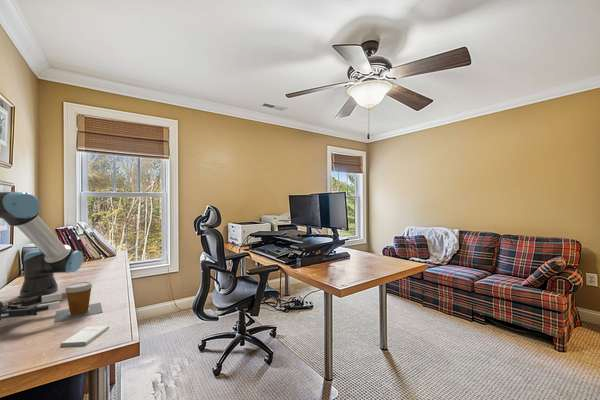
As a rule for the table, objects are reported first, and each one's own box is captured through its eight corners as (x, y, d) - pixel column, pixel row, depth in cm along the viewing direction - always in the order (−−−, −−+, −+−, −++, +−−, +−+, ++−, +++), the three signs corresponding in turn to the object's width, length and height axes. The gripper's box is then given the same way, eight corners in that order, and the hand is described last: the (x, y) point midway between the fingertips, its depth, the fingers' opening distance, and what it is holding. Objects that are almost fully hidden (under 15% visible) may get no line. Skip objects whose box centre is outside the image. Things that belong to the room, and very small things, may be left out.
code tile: (56, 311, 122) (56, 311, 122) (100, 302, 132) (100, 302, 132) (53, 322, 110) (53, 322, 110) (102, 312, 120) (102, 311, 120)
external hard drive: (60, 347, 92) (86, 330, 104) (86, 346, 92) (109, 329, 105) (60, 343, 92) (86, 326, 104) (86, 341, 92) (108, 325, 105)
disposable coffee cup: (97, 308, 123) (97, 282, 124) (74, 317, 114) (74, 288, 115) (83, 306, 127) (83, 280, 127) (59, 314, 118) (59, 286, 118)
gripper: (-6, 313, 113) (62, 300, 126) (-24, 335, 93) (58, 318, 107) (-6, 295, 113) (62, 284, 126) (-25, 313, 93) (58, 299, 107)
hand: (60, 300), depth 116 cm, fingers open, 13 cm apart
